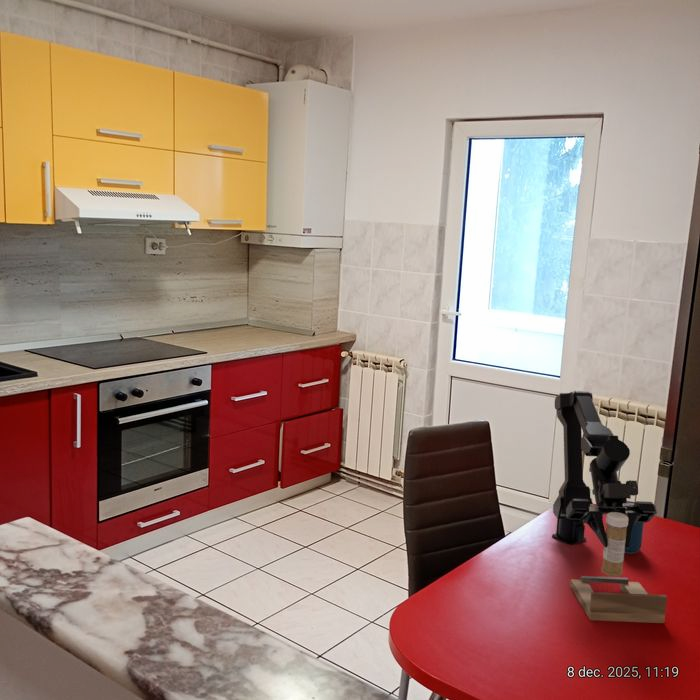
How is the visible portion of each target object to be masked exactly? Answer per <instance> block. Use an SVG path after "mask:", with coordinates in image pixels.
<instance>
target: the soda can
mask: <svg viewBox="0 0 700 700" xmlns="http://www.w3.org/2000/svg"><path fill="white" fill-rule="evenodd" d="M635 503H636V501H631V500H627V502H626V503H623V506H629V507H632V506H633V505H634V504H635ZM643 532H644V522H636V523H635V524H634V525H633V528H632V533H631V538H630V544H629V547H628V548H626V547H625V552H624V554H629V555H632V554H637V553H638V552H639V551H640V550H641V548H642V543H643Z"/></svg>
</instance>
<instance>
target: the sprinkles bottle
mask: <svg viewBox="0 0 700 700" xmlns="http://www.w3.org/2000/svg"><path fill="white" fill-rule="evenodd" d="M605 518H606V519H605V523H606V526H605V533H606V537H607V545H608V546H607V547H604V546H603V551H602V563H601V564H602V566H601V567H600V570H601V572H602V573H603V574H604V575H607V576H609V577H621V576H622V575H623V565H624V561H625V553H624V552H625V542H626V530H627V526H628V516H626V515H625V514H622V513H618V512H610V513H608V514H606V517H605Z"/></svg>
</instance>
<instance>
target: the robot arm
mask: <svg viewBox="0 0 700 700" xmlns="http://www.w3.org/2000/svg"><path fill="white" fill-rule="evenodd" d="M593 399H594V398H593V393H592V392H589V391H588V390H585V391H584V390H574V391H570V392H559V394H558V395H556V396H555V398H554V409H555V410H556V417H557V419H558V420H559V422H560V423H561V425H562V427H563V457H564V458H563V459H564V460H563V461H564V462H563V464H564V481H563V482H562V484H561V487H560V488H559V490H558V496H557V498H556V499H555V501H554V503H553V505H552V509H553V510H552V513H553V515H554V516H555V518H556V520H557V522H556V531H555V533H553V534H551V536H552V538H555V539H557V540H559V541H560V542H564V543H566V544H568V545H575V544H579V543H582V542H585V541H587V538H586V537H585V528H586V525H585V524H587V526H589V528H590V529H591V530H592V532H593V533H594V534H595V536H596V537H597V538H598V540H599V541H600V543H601V544H602V546H603V548H604V547H607V546H608V545H607V537H606V528H605V525H604V519H603V518H604V515H607V514H608V513H610V512H618V513H622V514H625V515H626V516H628V526H627V530H626V542H625V547H626V548H628V547H629V544H630V538H631V533H632V528H633V525H634V524H635V523H636V522H644V523H645V524H646V523H649V522H650V521H651V520H652V519H653V518H654V517H655V516H656V514H657V512H658V511H657V507H656V505H655V504H654V502H652V501H642V500H641V501H639V500H637V501H635V502H636V503H635V504H634V505H633V506H632V507H629V506H623V503H626V502H627V501H628V500H630V499H631V497H632V496H633V497H634V496H638V495H639V486H638V485H639V484H638V482H637V480H630V479H629V480H626V481H625V483H622V482H621V480H619V477H618V472H619V471H620V470H621V469H622V467H623V466H624V465H625V463H626V462H627V460H628V459H629V457H630V454H631V451H630V448H629V447H628V445H627V444H626V443H625V442H623V441H622V440H620V439H619V436H618V435H614V433H613V432H612V430H611V428H609V427H607V426H605V425H604V424H603V423H602V420H601V417H600V415H599V413H598V411H597V409H596V406H595V404H594V401H593ZM582 434H583V435H582ZM583 454H584V455H585V457H595V458H592V460H591V461H590V462H589V468H588V470H589V471H588V472H590V474H591V475H590V476H591V480H592V481H591V482H592V490H591V487H589V486H587V484H586V482H585V481H584V471H583V469H584V468H583ZM591 491H592V495H593V496H594V500H595V504H594V503H593V499H592V497H591Z"/></svg>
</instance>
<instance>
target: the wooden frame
mask: <svg viewBox="0 0 700 700" xmlns="http://www.w3.org/2000/svg"><path fill="white" fill-rule="evenodd" d="M589 583H594V584H595V583H597V584H599V583H600V584H620V588H619V589H620V590H621V592H603V591H602V592H601V591H600V592H598V591H597V592H596V591H594V590H593V588H592V587H591V586H590V585H591V584H589ZM569 587H570V589H571V590H572V592H573V594H574V595H575V597H576V599H577V601H578V602H579V604H580V606H581V608H582V609H583V611H584V613H585V614H586V615H587V617H588V619H589V620H590V621H601V622H625V623H626V622H628V623H629V622H630V623H632V622H633V623H653V624H664V623H665V617H666V610H667V602H668V597H667V595H666V594H648V593H649V592H648V591H646V589H645V588H644V586H642V584H641V583H640V582H639V581H630V580H629V578H628V577H621V576H594V575H593V576H592V575H591V576H590V575H580V579H570V584H569Z"/></svg>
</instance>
